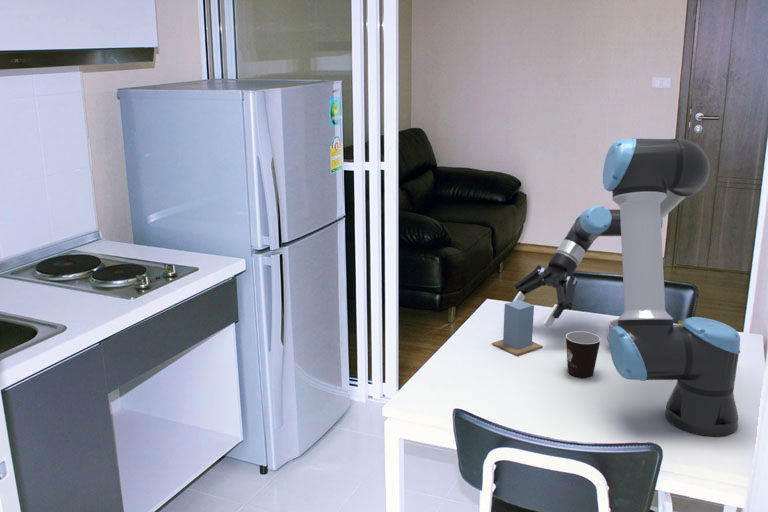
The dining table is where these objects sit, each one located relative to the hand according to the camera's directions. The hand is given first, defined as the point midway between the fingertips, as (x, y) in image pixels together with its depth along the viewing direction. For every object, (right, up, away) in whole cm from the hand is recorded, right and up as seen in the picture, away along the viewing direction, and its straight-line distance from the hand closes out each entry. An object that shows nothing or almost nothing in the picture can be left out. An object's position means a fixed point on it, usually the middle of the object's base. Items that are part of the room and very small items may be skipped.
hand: (527, 319), depth 205 cm
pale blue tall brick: (-3, -7, -1) cm, 8 cm away
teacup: (+28, -9, -5) cm, 30 cm away
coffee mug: (+10, -12, -16) cm, 23 cm away
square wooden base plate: (-3, -8, -1) cm, 8 cm away
